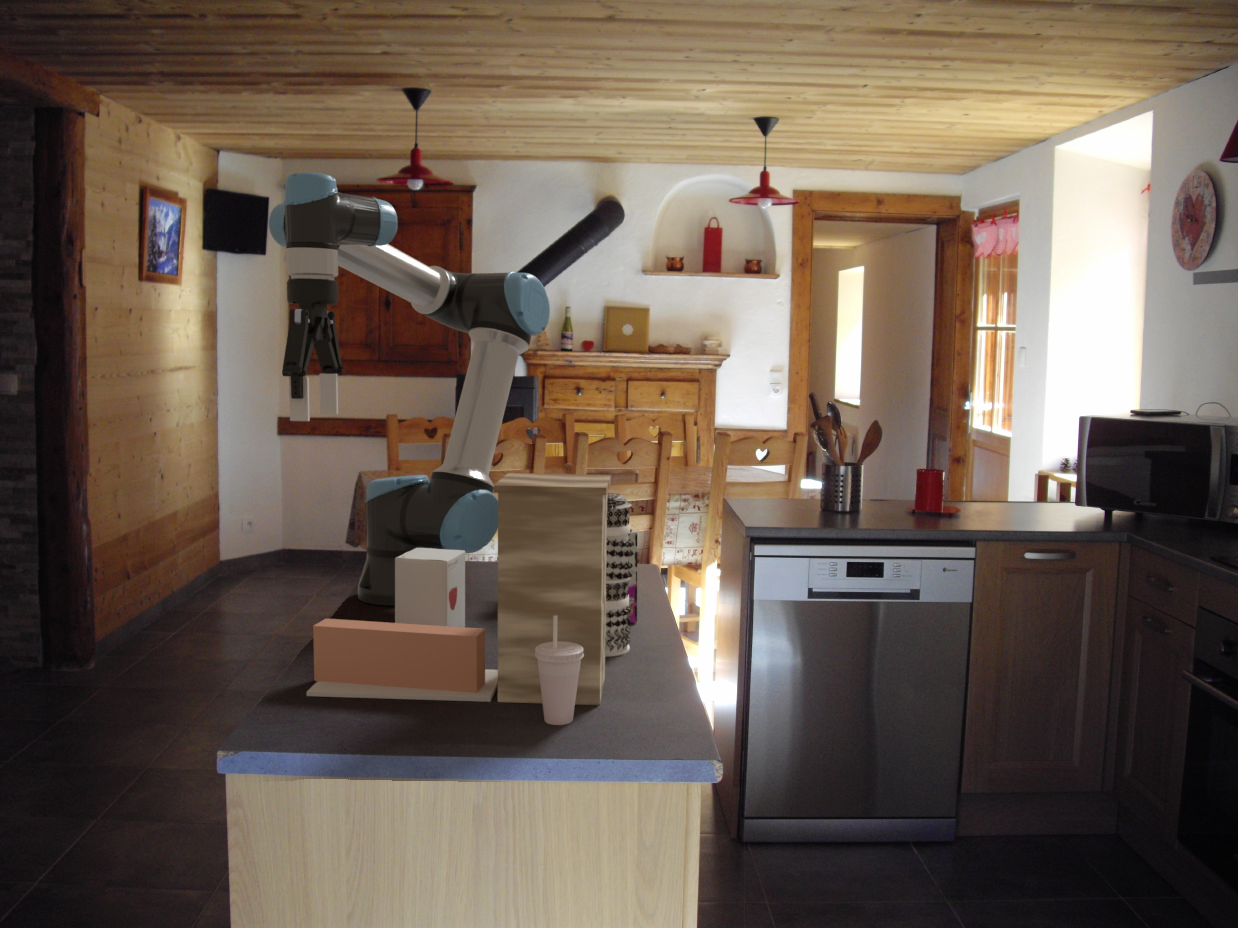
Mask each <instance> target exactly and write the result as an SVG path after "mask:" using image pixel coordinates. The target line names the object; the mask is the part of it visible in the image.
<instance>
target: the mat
mask: <svg viewBox="0 0 1238 928" xmlns="http://www.w3.org/2000/svg"><path fill="white" fill-rule="evenodd" d="M497 690H498V669H487V668H485V684H484V685H483V686H482V688H481V689H480V690H479V691H478V692H477V693H472V692H459V691H446V690H432V689H419V688H406V687H392V686H379V685H366V684H352V683H339V682H326V681H315V683H314V684H312V686H311V687H310V688H308V690H306V697H322V698H323V697H326V698H329V697H330V698H352V699H354V698H355V699H357V698H360V699H394V700H417V701H418V700H422V701H423V700H424V701H452V702H453V701H456V702H457V701H458V702H485V703H486V702H488V703H491V702H492V699H493V697H494V695H495V693H496V691H497Z"/></svg>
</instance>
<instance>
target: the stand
mask: <svg viewBox="0 0 1238 928" xmlns="http://www.w3.org/2000/svg"><path fill="white" fill-rule="evenodd" d="M611 484H612V474H586V473H585V474H579V473H577V474H576V473H575V474H574V473H534V472H533V473H530V472H507V474H505V475H504V476H503V477H501V478H500V479H499V480H498V481H496V483H494V484H493V485H494V490H493V494H494V493H495V494H497V499H498V529H497V670H498V687H497V702H498V703H514V704H515V703H517V704H518V703H519V704H521V703H522V704H523V703H525V704H543V703H542V694H541V686H540V677H539V670H538V660H537V658H536V657H535V648H536V647H537V646H538V645H540V644H543V643H547V642H553V615H557V616H558V617H557V641H562V642H572V643H576V644H579V645H581V646H582V647H583V654H584V657H583V658H582V659H581V663H580V671H579V678H578V685H577V692H576V700H575V705H581V706H582V705H583V706H584V705H585V706H590V705H591V706H600V705H601V701H602V695H603V689H604V685H605V683H604V682H605V679H606V657H605V632H606V563H607V494H608V493H609V489H610V486H611Z"/></svg>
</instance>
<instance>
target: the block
mask: <svg viewBox="0 0 1238 928" xmlns="http://www.w3.org/2000/svg"><path fill="white" fill-rule="evenodd" d="M312 628H313V631H312V632H313V673H314V674H313V675H314V676H313V680H314V681H315V682H317V681H326V682H339V683H352V684H366V685H379V686H392V687H406V688H419V689H432V690H446V691H459V692H472V693H477V692H478V691H479V690H480V689H481V688H482V686H483V685H484V684H485V669H486V628H479V627H466V626H465V627H449V626H434V625H418V624H403V623H395V622H387V621H386V622H384V621H371V620H370V621H368V620H357V619H356V620H355V619H341V618H339V619H337V618H324V619H322V620H321V621H318V623H315V624H314V625H313V626H312Z"/></svg>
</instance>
